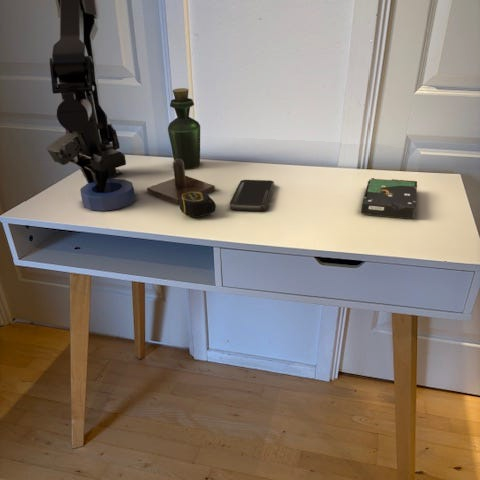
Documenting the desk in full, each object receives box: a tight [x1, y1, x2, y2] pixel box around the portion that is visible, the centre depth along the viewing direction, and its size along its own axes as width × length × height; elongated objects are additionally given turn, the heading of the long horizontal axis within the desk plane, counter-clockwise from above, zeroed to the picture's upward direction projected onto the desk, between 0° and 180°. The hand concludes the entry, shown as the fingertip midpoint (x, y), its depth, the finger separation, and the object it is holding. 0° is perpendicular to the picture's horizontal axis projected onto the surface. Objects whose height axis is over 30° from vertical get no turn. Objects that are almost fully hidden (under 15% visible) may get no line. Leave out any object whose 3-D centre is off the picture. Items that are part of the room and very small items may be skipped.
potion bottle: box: [167, 87, 201, 170], centre depth 122 cm, size 8×8×18 cm
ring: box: [80, 178, 136, 212], centre depth 108 cm, size 11×11×3 cm
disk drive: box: [360, 177, 418, 219], centre depth 102 cm, size 10×3×15 cm
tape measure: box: [178, 191, 217, 218], centre depth 101 cm, size 7×7×4 cm
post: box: [146, 159, 216, 206], centre depth 110 cm, size 11×11×8 cm
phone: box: [229, 179, 275, 212], centre depth 108 cm, size 8×1×15 cm
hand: (97, 191), depth 111 cm, fingers closed on ring, 2 cm apart
